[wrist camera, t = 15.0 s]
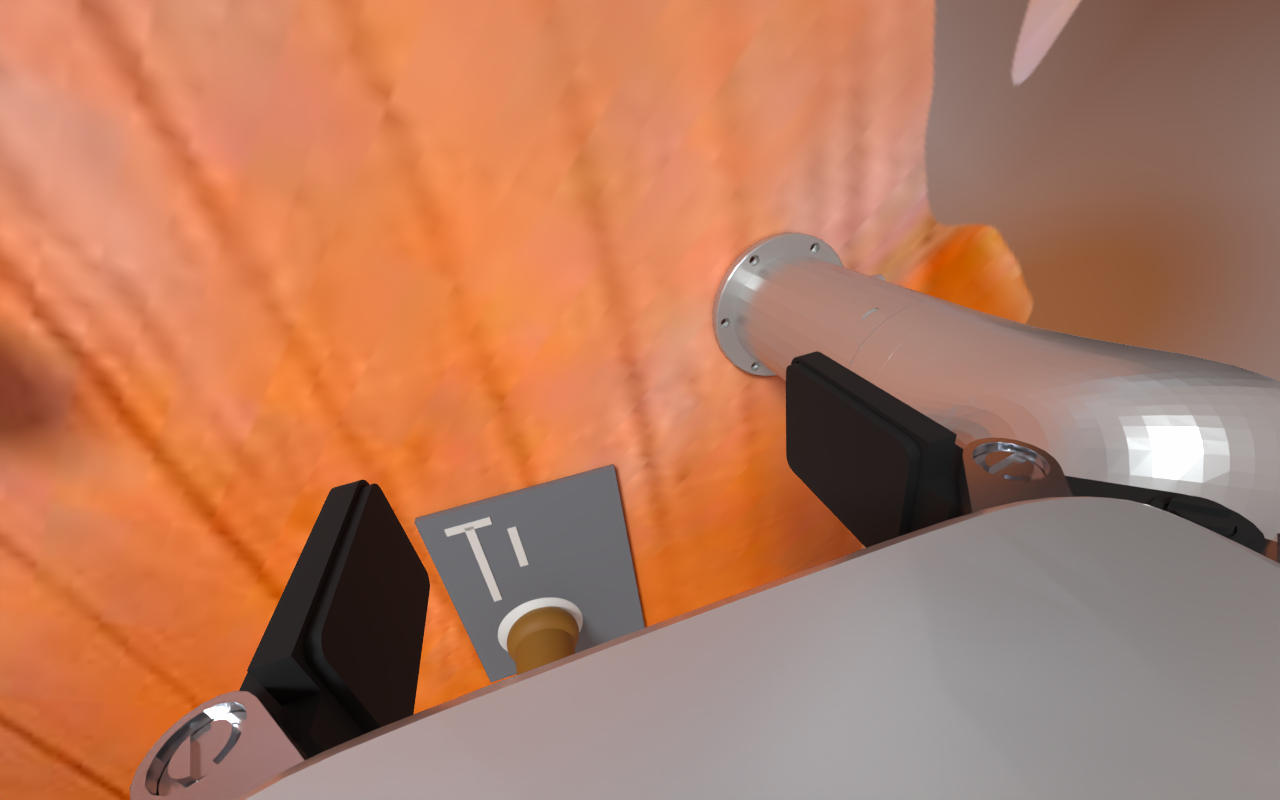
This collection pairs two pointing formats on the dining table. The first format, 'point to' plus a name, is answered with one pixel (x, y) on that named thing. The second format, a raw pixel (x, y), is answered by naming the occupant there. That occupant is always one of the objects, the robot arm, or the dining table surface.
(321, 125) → the dining table surface
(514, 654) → the ornamental finial
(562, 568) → the slate board
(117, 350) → the dining table surface
